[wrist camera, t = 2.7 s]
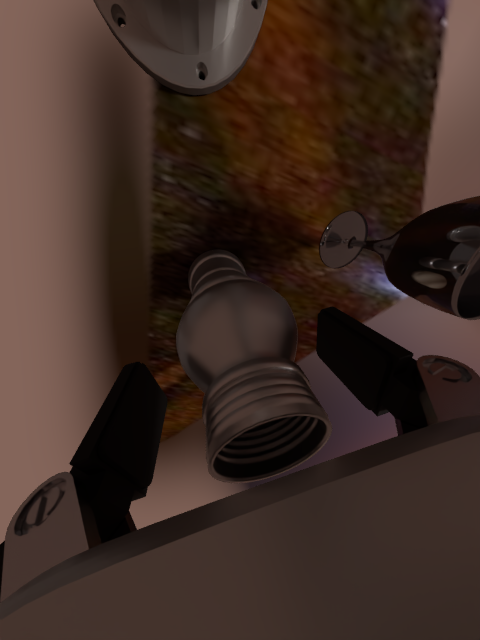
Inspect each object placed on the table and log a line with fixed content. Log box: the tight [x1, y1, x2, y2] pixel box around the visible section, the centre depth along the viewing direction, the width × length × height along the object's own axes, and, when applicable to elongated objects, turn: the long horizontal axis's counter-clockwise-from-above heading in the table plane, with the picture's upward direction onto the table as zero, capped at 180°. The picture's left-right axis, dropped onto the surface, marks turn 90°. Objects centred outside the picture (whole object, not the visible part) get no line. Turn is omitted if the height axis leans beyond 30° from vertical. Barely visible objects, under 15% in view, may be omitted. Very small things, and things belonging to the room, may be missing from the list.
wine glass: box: [320, 196, 480, 320], centre depth 17 cm, size 8×8×15 cm
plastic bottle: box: [176, 249, 332, 483], centre depth 13 cm, size 6×7×20 cm
